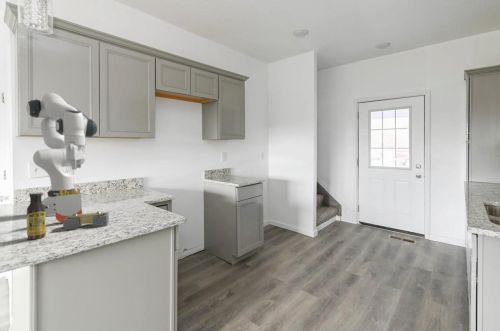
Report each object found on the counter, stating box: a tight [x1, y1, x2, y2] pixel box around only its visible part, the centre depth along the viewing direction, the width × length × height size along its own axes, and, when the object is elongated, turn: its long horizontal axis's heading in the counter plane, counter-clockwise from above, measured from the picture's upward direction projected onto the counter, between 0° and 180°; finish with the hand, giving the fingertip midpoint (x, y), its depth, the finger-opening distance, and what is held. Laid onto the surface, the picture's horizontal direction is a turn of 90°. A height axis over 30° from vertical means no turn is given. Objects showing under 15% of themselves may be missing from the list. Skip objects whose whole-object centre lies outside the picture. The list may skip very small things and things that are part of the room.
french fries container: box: [55, 188, 83, 224], centre depth 130 cm, size 5×11×18 cm, turn 136°
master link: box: [69, 211, 104, 225], centre depth 124 cm, size 14×3×5 cm, turn 113°
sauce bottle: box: [26, 192, 47, 240], centre depth 107 cm, size 6×6×20 cm
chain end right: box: [92, 212, 110, 228], centre depth 126 cm, size 6×8×5 cm
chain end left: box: [62, 216, 83, 231], centre depth 121 cm, size 6×8×5 cm
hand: (76, 168), depth 127 cm, fingers open, 8 cm apart
